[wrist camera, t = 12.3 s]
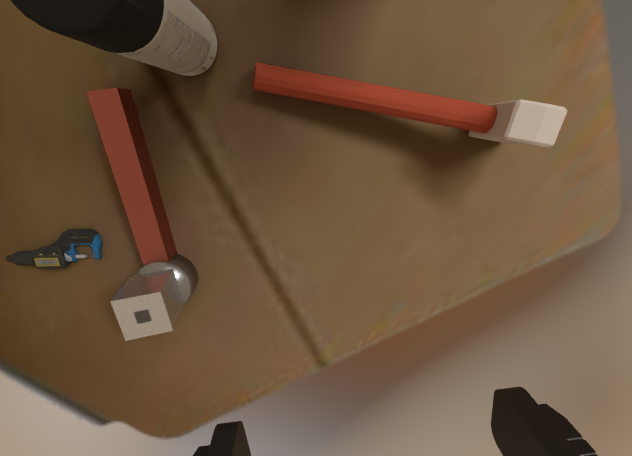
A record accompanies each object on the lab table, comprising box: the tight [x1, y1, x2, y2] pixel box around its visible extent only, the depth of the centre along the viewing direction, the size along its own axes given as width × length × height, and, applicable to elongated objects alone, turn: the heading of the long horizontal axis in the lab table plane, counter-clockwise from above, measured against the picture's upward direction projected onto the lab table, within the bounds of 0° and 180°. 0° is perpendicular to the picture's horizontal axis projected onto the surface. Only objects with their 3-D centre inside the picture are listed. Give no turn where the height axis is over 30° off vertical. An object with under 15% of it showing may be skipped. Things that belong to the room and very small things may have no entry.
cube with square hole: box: [110, 269, 183, 341], centre depth 37 cm, size 5×5×6 cm
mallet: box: [253, 63, 567, 147], centre depth 34 cm, size 11×4×30 cm
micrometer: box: [6, 229, 102, 269], centre depth 41 cm, size 12×2×5 cm
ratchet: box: [86, 88, 198, 307], centre depth 37 cm, size 27×7×6 cm, turn 7°
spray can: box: [11, 0, 217, 76], centre depth 25 cm, size 7×7×20 cm
